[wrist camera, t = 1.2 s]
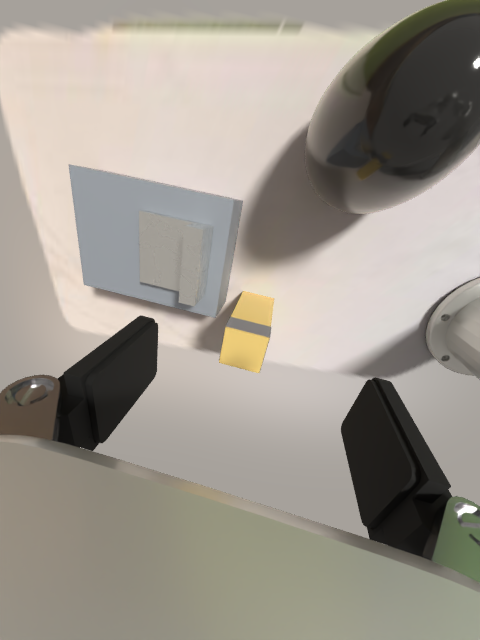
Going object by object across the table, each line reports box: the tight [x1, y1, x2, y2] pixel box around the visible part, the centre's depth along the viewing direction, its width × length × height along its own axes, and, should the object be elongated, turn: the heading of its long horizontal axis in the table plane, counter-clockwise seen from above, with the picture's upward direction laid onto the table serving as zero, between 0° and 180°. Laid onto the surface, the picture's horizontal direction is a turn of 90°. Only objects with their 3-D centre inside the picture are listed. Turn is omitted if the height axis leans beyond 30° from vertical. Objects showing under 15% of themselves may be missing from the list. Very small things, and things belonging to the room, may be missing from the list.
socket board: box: [69, 165, 243, 318], centre depth 27 cm, size 16×12×5 cm
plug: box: [219, 291, 274, 373], centre depth 26 cm, size 4×4×10 cm
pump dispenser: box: [305, 0, 480, 214], centre depth 15 cm, size 10×10×15 cm
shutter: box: [139, 210, 214, 306], centre depth 23 cm, size 7×7×3 cm
